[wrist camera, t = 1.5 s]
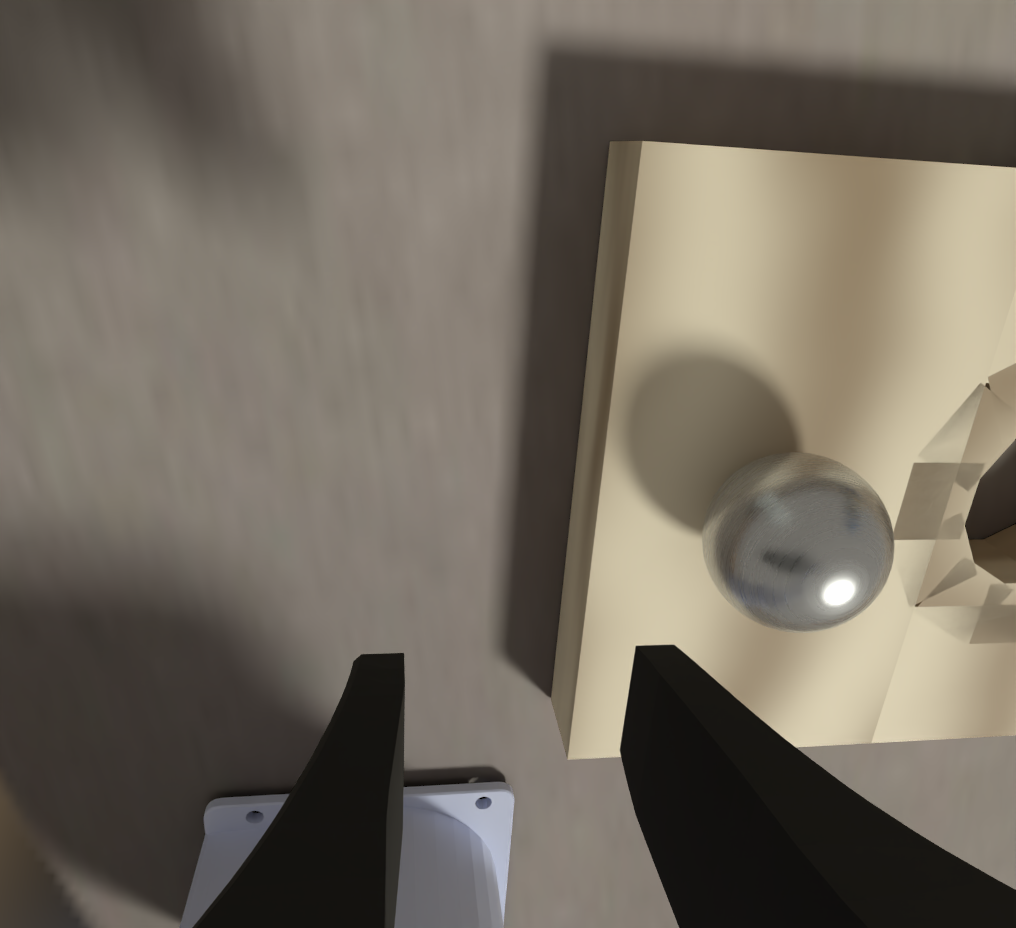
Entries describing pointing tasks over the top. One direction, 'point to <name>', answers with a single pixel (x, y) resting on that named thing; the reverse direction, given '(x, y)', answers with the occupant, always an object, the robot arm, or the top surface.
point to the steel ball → (798, 542)
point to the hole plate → (795, 432)
